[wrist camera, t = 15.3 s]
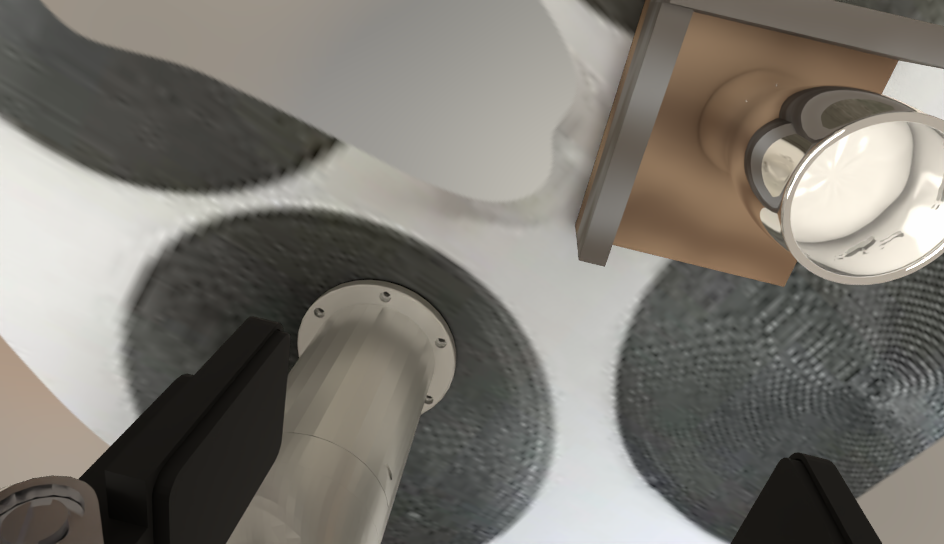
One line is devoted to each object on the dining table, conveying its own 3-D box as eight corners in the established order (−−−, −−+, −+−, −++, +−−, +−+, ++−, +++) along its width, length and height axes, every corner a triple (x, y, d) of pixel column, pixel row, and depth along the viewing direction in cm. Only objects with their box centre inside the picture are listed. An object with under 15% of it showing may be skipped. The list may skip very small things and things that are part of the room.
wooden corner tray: (773, 273, 41) (821, 333, 33) (575, 225, 41) (580, 274, 34) (894, 27, 34) (987, 36, 26) (654, -29, 34) (682, -36, 27)
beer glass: (842, 117, 34) (1032, 196, 21) (744, 203, 37) (856, 323, 23) (760, 34, 33) (906, 60, 19) (665, 130, 36) (735, 211, 22)
